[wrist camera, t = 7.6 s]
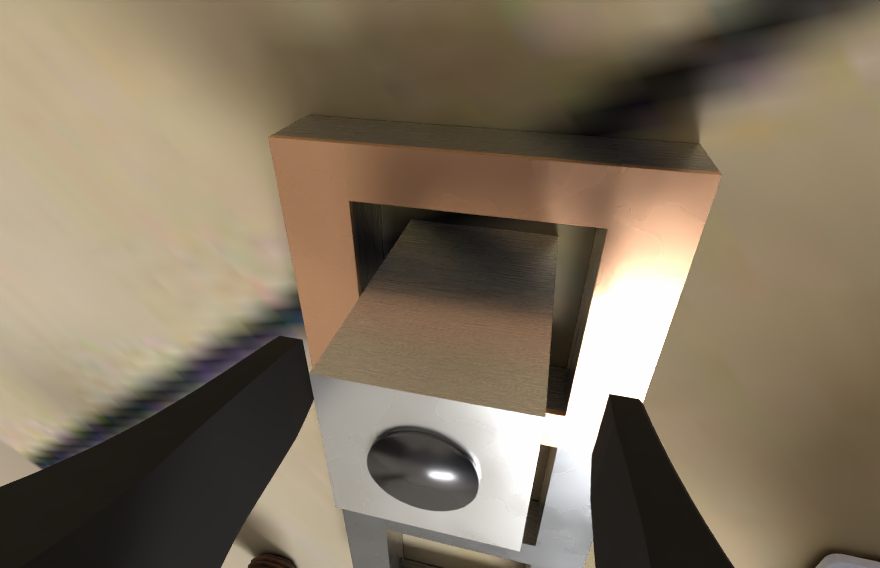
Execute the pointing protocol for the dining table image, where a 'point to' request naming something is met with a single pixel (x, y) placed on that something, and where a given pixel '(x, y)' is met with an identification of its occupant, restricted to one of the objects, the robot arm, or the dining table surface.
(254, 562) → the bolt
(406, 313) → the grey rectangular block
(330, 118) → the frame with rectangular openings
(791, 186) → the dining table surface
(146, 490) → the robot arm
